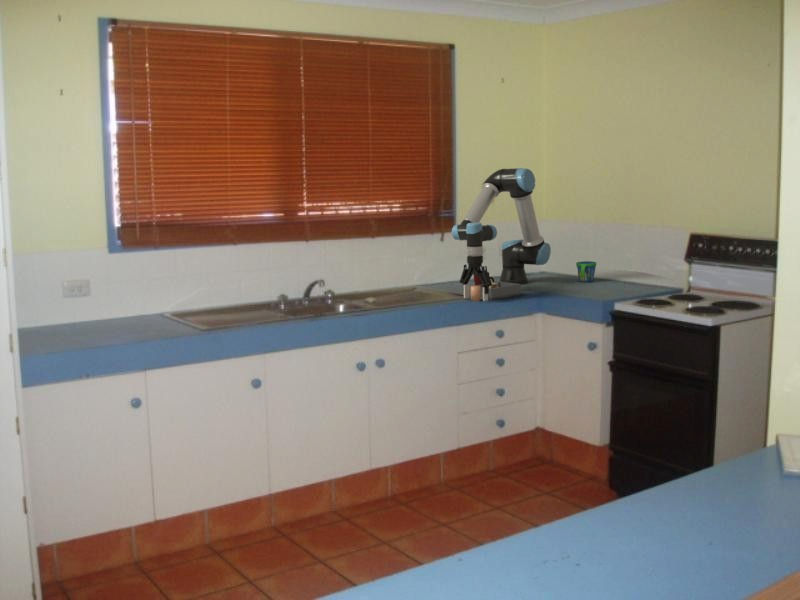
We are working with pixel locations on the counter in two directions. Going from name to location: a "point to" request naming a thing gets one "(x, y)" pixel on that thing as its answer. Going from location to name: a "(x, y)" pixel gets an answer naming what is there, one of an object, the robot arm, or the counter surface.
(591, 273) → the snack cup
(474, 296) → the terracotta cylinder
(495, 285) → the wood cube
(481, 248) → the robot arm
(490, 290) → the tote
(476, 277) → the mug
